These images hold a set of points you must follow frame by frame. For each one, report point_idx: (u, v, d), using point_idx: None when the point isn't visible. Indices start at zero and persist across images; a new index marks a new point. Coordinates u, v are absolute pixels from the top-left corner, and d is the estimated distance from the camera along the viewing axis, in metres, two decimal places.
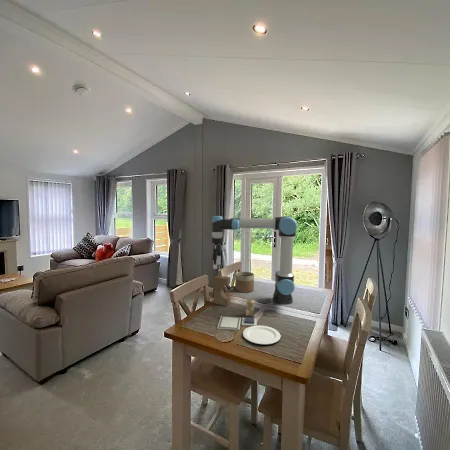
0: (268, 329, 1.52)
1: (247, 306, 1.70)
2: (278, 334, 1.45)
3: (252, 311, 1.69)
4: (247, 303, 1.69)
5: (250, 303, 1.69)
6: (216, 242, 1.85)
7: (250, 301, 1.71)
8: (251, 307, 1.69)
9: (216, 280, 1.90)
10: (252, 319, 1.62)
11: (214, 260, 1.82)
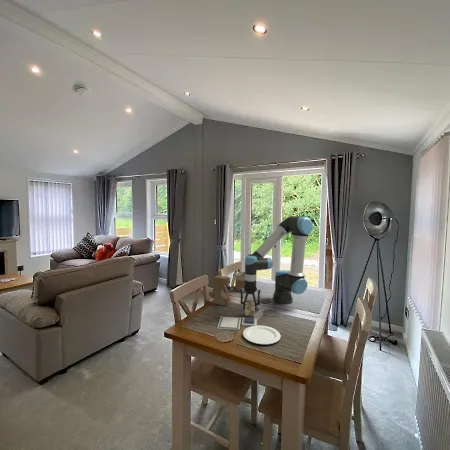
0: (268, 329, 1.52)
1: (247, 306, 1.70)
2: (278, 334, 1.45)
3: (252, 311, 1.69)
4: (247, 303, 1.69)
5: (250, 303, 1.69)
6: None
7: (250, 301, 1.71)
8: (251, 307, 1.69)
9: (216, 280, 1.90)
10: (252, 319, 1.62)
11: (243, 304, 1.73)
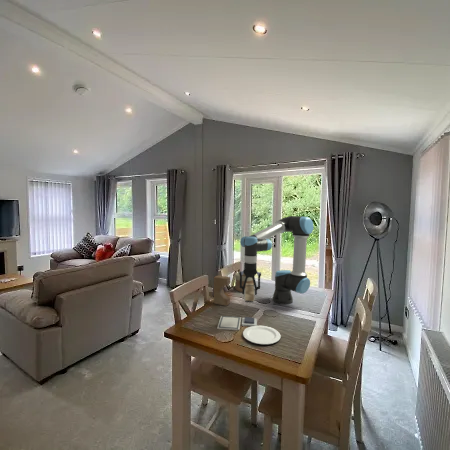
0: (268, 329, 1.52)
1: (246, 290, 1.58)
2: (278, 334, 1.45)
3: (252, 296, 1.58)
4: (246, 287, 1.58)
5: (250, 287, 1.58)
6: (244, 266, 1.59)
7: (250, 285, 1.59)
8: (251, 291, 1.58)
9: (216, 280, 1.90)
10: (252, 319, 1.62)
11: None
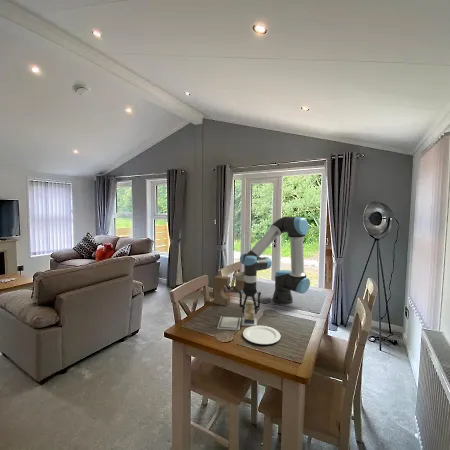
0: (268, 329, 1.52)
1: (246, 309, 1.59)
2: (278, 334, 1.45)
3: (252, 315, 1.59)
4: (246, 306, 1.59)
5: (250, 306, 1.58)
6: None
7: (250, 304, 1.60)
8: (251, 310, 1.59)
9: (216, 280, 1.90)
10: None
11: (242, 307, 1.62)
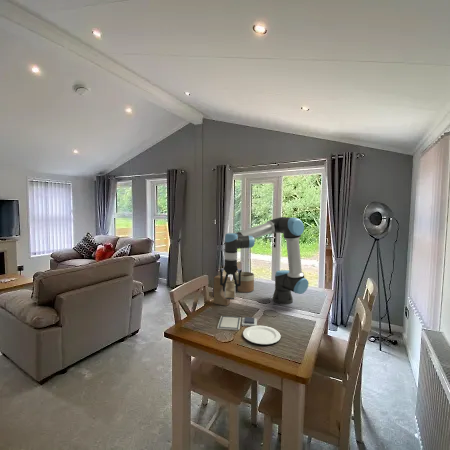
0: (268, 329, 1.52)
1: (227, 287, 1.57)
2: (278, 334, 1.45)
3: (233, 293, 1.56)
4: (227, 284, 1.56)
5: (230, 284, 1.56)
6: None
7: (230, 282, 1.58)
8: (231, 288, 1.56)
9: (216, 280, 1.90)
10: (252, 319, 1.62)
11: (223, 286, 1.60)
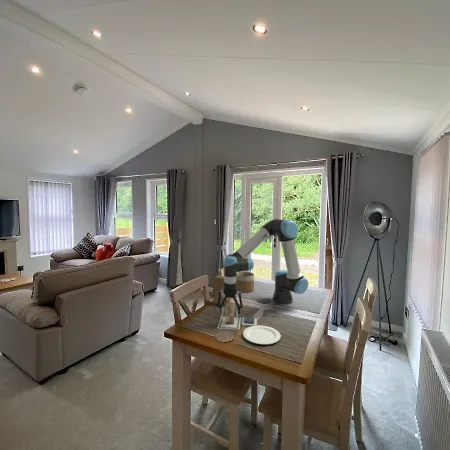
0: (268, 329, 1.52)
1: (226, 312, 1.58)
2: (278, 334, 1.45)
3: (232, 317, 1.58)
4: (226, 309, 1.58)
5: (229, 309, 1.58)
6: (224, 287, 1.59)
7: (230, 306, 1.59)
8: (231, 313, 1.58)
9: (216, 280, 1.90)
10: (252, 319, 1.62)
11: (220, 307, 1.61)
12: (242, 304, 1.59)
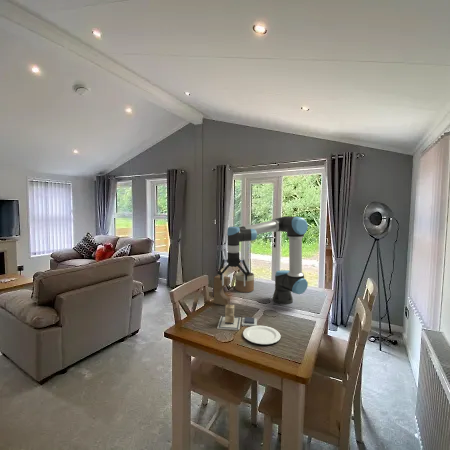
0: (268, 329, 1.52)
1: (226, 312, 1.58)
2: (278, 334, 1.45)
3: (232, 317, 1.58)
4: (226, 309, 1.58)
5: (230, 309, 1.58)
6: (227, 256, 1.62)
7: (230, 306, 1.59)
8: (231, 313, 1.58)
9: (216, 280, 1.90)
10: (252, 319, 1.62)
11: (220, 275, 1.64)
12: None
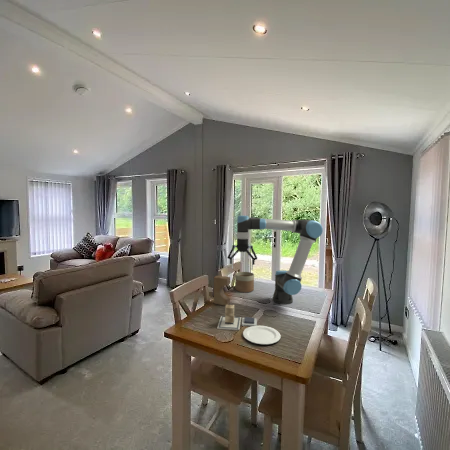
0: (268, 329, 1.52)
1: (226, 312, 1.58)
2: (278, 334, 1.45)
3: (232, 317, 1.58)
4: (226, 309, 1.58)
5: (230, 309, 1.58)
6: (237, 242, 1.78)
7: (230, 306, 1.59)
8: (231, 313, 1.58)
9: (216, 280, 1.90)
10: (252, 319, 1.62)
11: (230, 259, 1.80)
12: (256, 256, 1.78)
